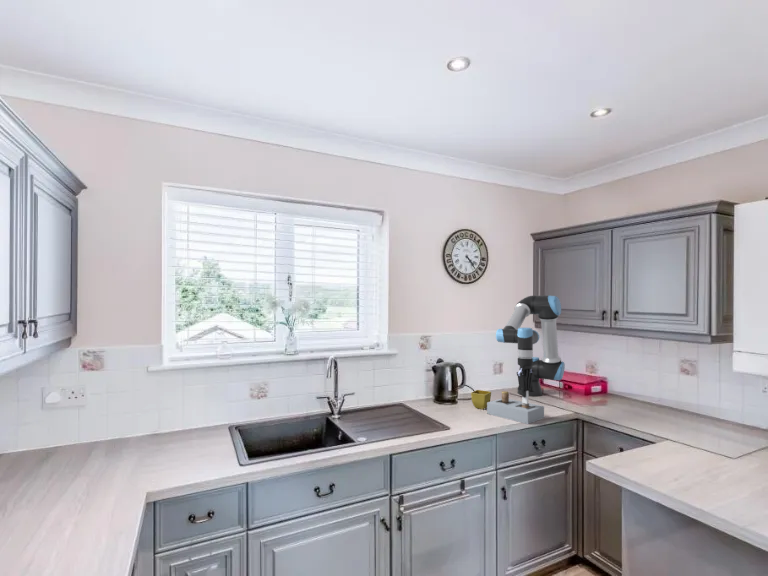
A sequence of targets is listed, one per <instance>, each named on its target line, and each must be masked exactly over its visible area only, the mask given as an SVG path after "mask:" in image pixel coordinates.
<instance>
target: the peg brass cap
mask: <svg viewBox="0 0 768 576" xmlns="http://www.w3.org/2000/svg"><path fill="white" fill-rule="evenodd" d="M509 396H510V392H509V391H506V390H505V391H501V398H502V403H505V404H506V403H509V399H510V397H509Z"/></svg>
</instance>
